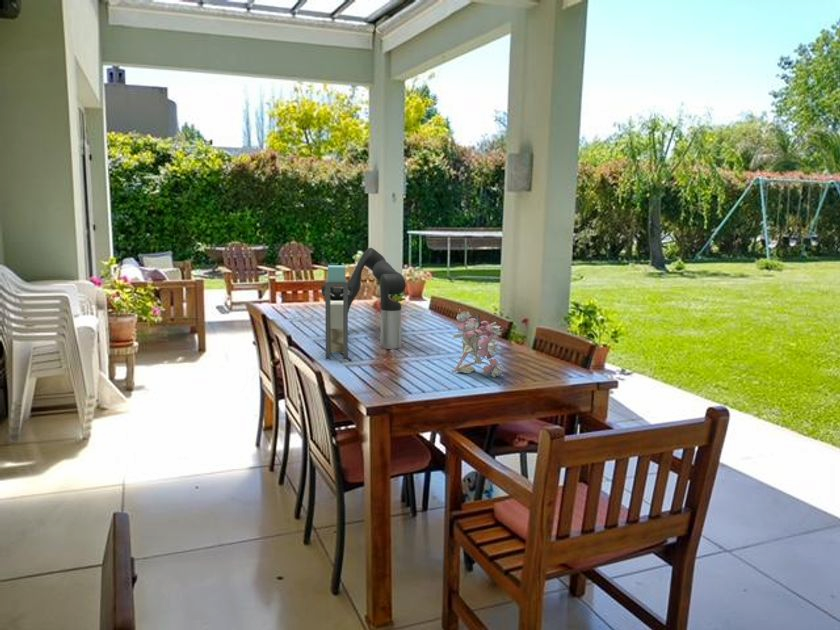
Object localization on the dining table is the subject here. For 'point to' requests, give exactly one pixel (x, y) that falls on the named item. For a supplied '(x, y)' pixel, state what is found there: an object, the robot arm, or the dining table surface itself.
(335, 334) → the tower base block
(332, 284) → the stand
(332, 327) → the tower top block
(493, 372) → the flower
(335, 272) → the handle block
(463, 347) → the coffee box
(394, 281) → the robot arm
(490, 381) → the dining table surface
